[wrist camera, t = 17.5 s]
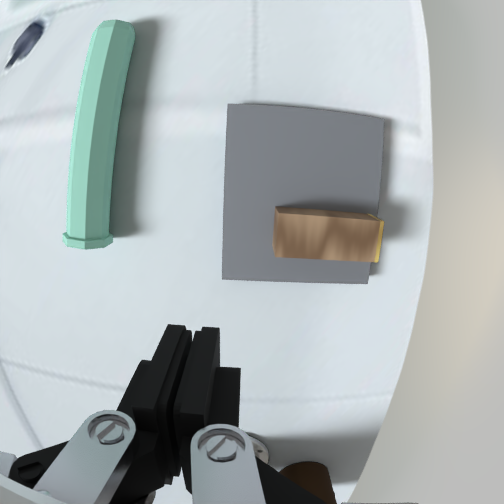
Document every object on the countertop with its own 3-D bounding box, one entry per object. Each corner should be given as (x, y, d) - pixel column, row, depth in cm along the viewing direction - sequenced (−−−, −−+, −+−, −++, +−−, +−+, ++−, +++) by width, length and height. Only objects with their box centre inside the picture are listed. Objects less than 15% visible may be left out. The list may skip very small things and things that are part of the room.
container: (90, 11, 22) (58, 248, 29) (145, 14, 24) (111, 250, 31) (93, 30, 27) (66, 234, 34) (140, 32, 30) (113, 235, 36)
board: (362, 277, 36) (367, 284, 34) (223, 272, 36) (221, 279, 34) (377, 120, 31) (384, 119, 29) (228, 106, 31) (227, 103, 29)
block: (272, 245, 33) (364, 250, 33) (275, 257, 29) (378, 262, 29) (275, 206, 32) (369, 214, 32) (278, 213, 28) (384, 221, 28)
